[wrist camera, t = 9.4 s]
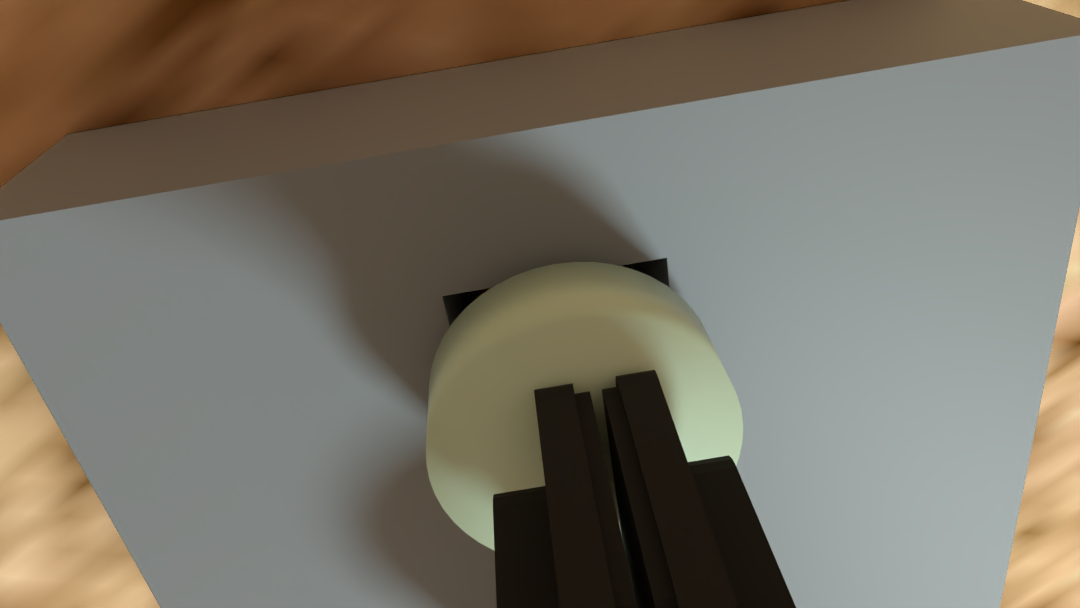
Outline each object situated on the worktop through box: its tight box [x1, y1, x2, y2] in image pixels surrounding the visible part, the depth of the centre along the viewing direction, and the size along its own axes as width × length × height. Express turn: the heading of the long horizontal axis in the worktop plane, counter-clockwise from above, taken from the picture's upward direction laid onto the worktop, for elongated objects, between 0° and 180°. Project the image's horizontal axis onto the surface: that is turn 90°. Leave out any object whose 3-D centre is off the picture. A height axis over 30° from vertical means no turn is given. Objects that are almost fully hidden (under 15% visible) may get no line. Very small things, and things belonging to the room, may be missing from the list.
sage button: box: [426, 262, 743, 551], centre depth 13 cm, size 4×4×4 cm
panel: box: [0, 0, 1080, 608], centre depth 18 cm, size 22×16×4 cm
